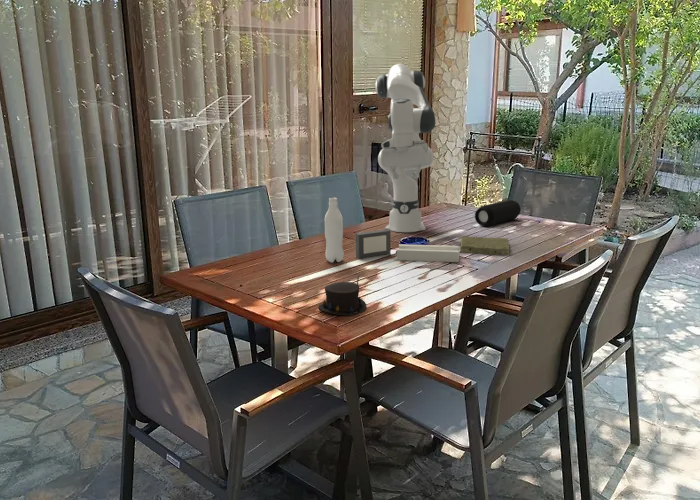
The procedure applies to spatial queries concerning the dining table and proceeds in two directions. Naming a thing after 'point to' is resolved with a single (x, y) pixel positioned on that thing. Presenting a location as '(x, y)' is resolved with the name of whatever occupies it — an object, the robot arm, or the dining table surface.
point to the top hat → (343, 299)
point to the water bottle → (333, 232)
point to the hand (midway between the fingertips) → (406, 178)
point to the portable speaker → (497, 212)
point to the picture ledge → (428, 253)
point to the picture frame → (373, 244)
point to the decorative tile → (484, 245)
